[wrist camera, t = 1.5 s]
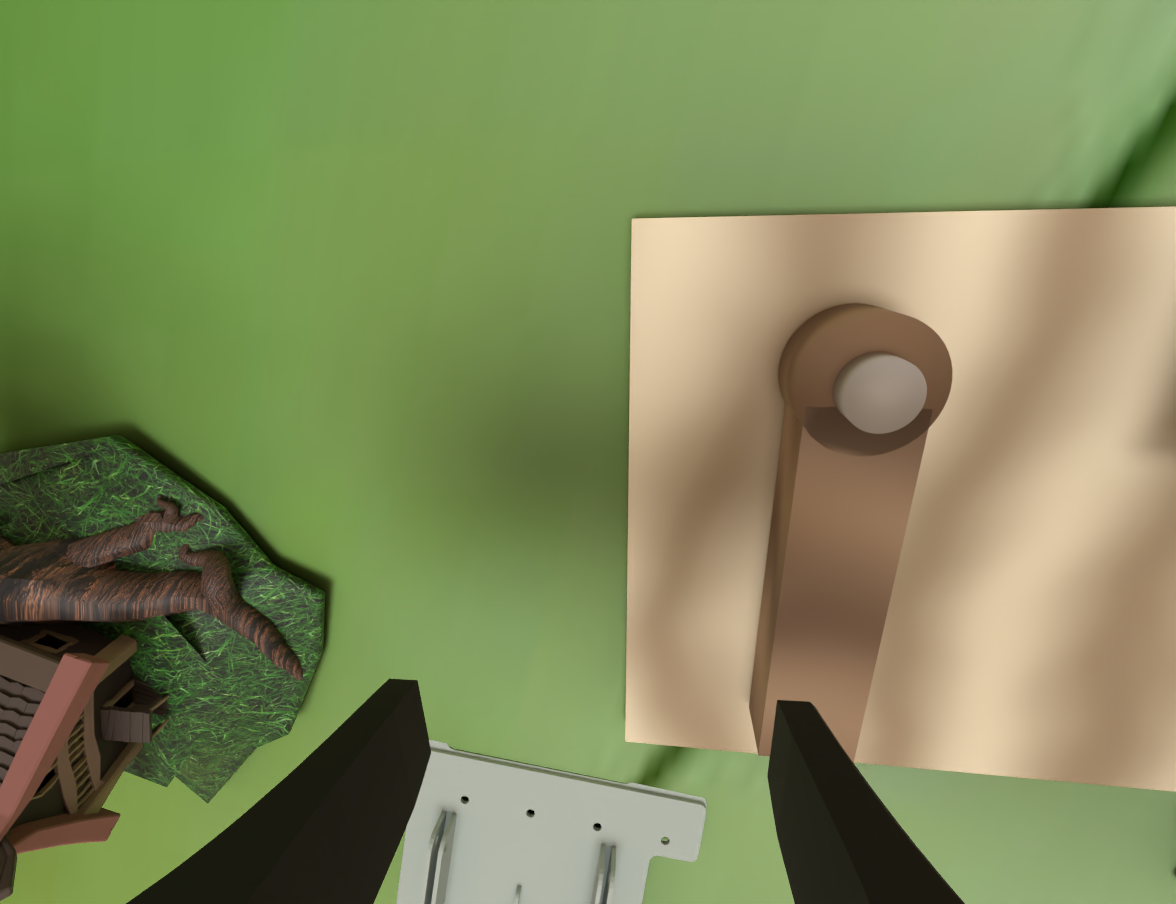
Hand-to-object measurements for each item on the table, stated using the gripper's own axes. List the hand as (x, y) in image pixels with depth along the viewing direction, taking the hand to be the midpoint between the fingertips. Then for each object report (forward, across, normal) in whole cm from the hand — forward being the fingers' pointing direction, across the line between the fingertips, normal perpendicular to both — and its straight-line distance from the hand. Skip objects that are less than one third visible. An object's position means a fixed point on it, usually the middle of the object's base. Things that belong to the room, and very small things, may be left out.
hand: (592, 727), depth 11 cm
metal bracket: (+9, +5, +19) cm, 21 cm away
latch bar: (+7, -6, 0) cm, 10 cm away
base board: (+8, -10, 0) cm, 14 cm away
